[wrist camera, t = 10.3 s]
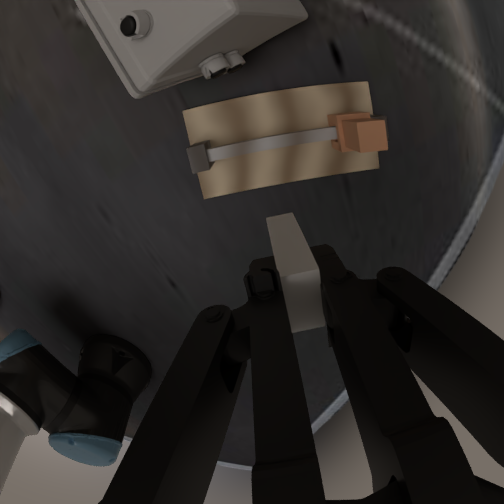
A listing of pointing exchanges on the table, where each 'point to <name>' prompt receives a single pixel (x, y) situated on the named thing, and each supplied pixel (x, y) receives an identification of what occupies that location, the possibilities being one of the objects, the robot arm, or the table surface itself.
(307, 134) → the rail board
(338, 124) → the brown stepped block
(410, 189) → the table surface
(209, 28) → the junction box
